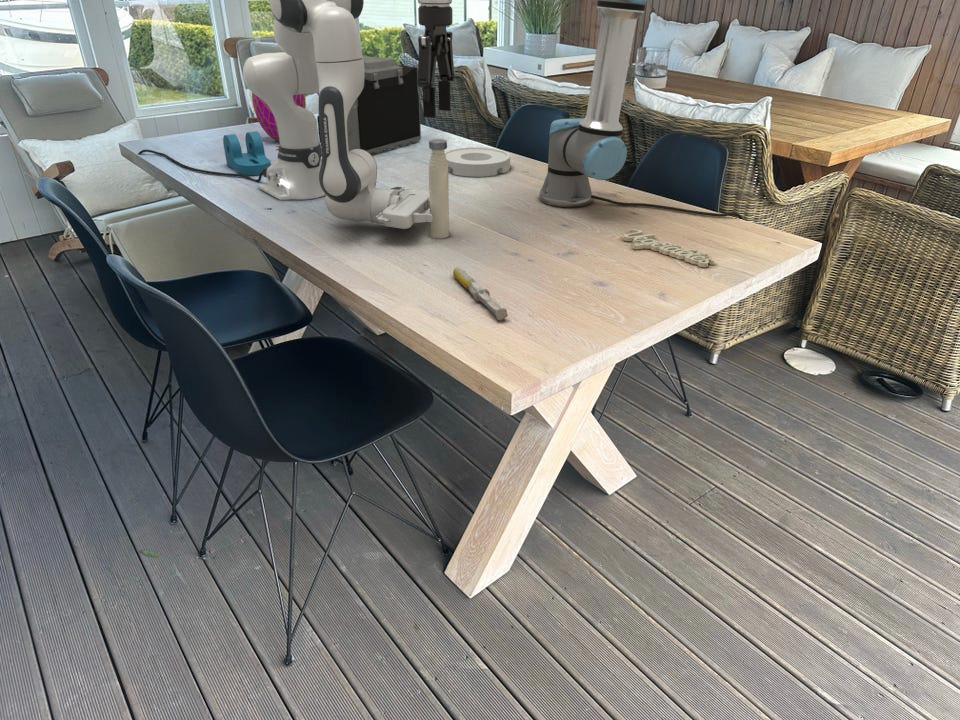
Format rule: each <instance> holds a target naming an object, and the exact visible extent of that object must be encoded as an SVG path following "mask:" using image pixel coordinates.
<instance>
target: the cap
mask: <svg viewBox="0 0 960 720" xmlns="http://www.w3.org/2000/svg"><path fill="white" fill-rule="evenodd" d="M428 148H429V149H430V150H431V151H432V150H444V151H445V150H447V148H448V141H447V140H446V139H444V138H433V139H430V140H429V142H428Z"/></svg>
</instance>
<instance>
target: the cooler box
mask: <svg viewBox="0 0 960 720" xmlns="http://www.w3.org/2000/svg"><path fill="white" fill-rule="evenodd" d="M363 61H364V69H365V78H364V87H363V90H362V92H361V93H360V95H359V96H358V98H357V99H356V100H355V102H354V104H353V105H352V107H351V109H350V112H349V114H348V118H347V136H348V150H349V151H351V150H353V149H363V150H365V151H367V152H368V153H370V154H375V155H377V154H381V153H382V152H383V151H391V150H395V149H396V148H397V147H405V146H407V145H408V144H416V143H418V142H419V141H421V137H422V128H421V97H420V92H419V91H420V89H419V88H420V87H419V86H418V66H408V65H400V64H396V62H395V60H394V59H393V58H385V57H377V56H367V55H363ZM316 94H317V96H318V97H319V93H316ZM316 120H317V129H318V139H319V143H320V144H321V137H320V125H319V115H317V116H316Z"/></svg>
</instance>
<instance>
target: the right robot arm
mask: <svg viewBox="0 0 960 720" xmlns="http://www.w3.org/2000/svg"><path fill="white" fill-rule="evenodd" d="M647 2H649V0H597V2H596V3H597V4H596V9H597V10H598V12H599V13H600V15H601V19H600V25H599V31H598V38H597V44H596V49H595V50H596V51H595V57H594V64H593V69H592V75H591V82H590V87H589V88H590V89H589V96H588V101H587V108H586V113H585V117H584V118H580V117H579V118H562V119H554V120H553V121H552V122H551V124H550V127H549V128H550V129H549V134H548V136H549V141H548V142H549V143H548V156H547V157H548V159H547V173H546V176H545V178H544V181H543V184H542V187H541V189H540V191H539V200H540V202H542V203H543V204H546V205H549V206H553V207H558V208H559V207H560V208H580V207H584V206H588V205H589V204H591V203H592V199H594V200H598V201H602V202H606V203H610V204H612V205H616V206H617V205H618V206H624V207H625V206H626V207H648V208H655V209H662V210H670V211H676V212H681V213H688V214H694V215H701V216H707V217H708V216H709V217H719V218H720V217H722V218H723V217H731V216H735V217H737V218H738V219H739V220H743V219H744V218H743V216H742V215H741V214H740V213H738V212H735V211H734V212H733V211H732V212H725V213H718V212H717V213H716V212H708V211H700V210H693V209H687V208H680V207H674V206H668V205H661V204H655V203H654V204H653V203H645V202H644V203H642V202H622V201H616V200H613V199H609V198H606V197H601V196H597V195H593V193H592V188H591V184H590V179H594V180H598V181H605V180H609V179H611V178H613V177H615V175H616V174H618V173H619V172H621V170H622V168H623V167H624V165H625V163H626V160H627V156H628V148H627V146H626V144H625V142H624V140H622V136H623V130H624V126H622V124H621V122H620V121H619V120H620V115H621V110H622V109H621V108H622V104H623V98H624V93H625V86H626V82H627V77H628V70H629V65H630V59H631V54H632V53H631V52H632V49H633V42H634V37H635V31H636V27H637V20H638V19H639V18H640V17H641V16H642V15H643V14H644V13H645V12H646V11H645V10H646V5H647ZM417 3H418V4H420V5H419V6H418V7H417V13H418V14H417V15H418V16H417V17H418V18H417V19H418V24H419V25H420V26H423V27H424V32H423V33H424V35H423V36H420V35H419V36H418V38H417V43H418V66H417V68H418V87H419V88H422V105H423V107H422V108H423V111H422V112H423V117H424V118H432V119H435V118H437V117H436V116H437V114H436V111H437V110H436V109H437V108H436V87H435V86H434V82H435V75H436V68H437V69H438V75H439V80H438V111H442V112H443V111H444V112H451V107H452V106H451V82H455V65H454V63H455V62H454V52H453V32H452V31H447V27H450V26H452V25H453V7H452V6H450V5H451V4H452V3H453V0H417Z"/></svg>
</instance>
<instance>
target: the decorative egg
mask: <svg viewBox="0 0 960 720" xmlns="http://www.w3.org/2000/svg"><path fill="white" fill-rule="evenodd" d="M293 99H294V102H295V104H296V105H297V106H300V107H302V108H305V109H307V108H306V104H307V103H306V102H307V101H306V99H307V97H306V94H298V95H293ZM251 101H252V107H253V110H254V114H255V116H256V118H257V121H258V123H259V125H260V127H261V128H262V130H263V131H264V133H266V135H267V136H268V137H270V138H271V139H273V140H275V141H280V140H279V134H278V129H277V124H276V120H275V117H274V115H273V113H272V111H271V109H270V108H269V107H268V105H267V104H266V103H265V102H264V101H263V100H262V99H261V98H259V97H258V96H256V95H255V94H253V93H252V92H251Z"/></svg>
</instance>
